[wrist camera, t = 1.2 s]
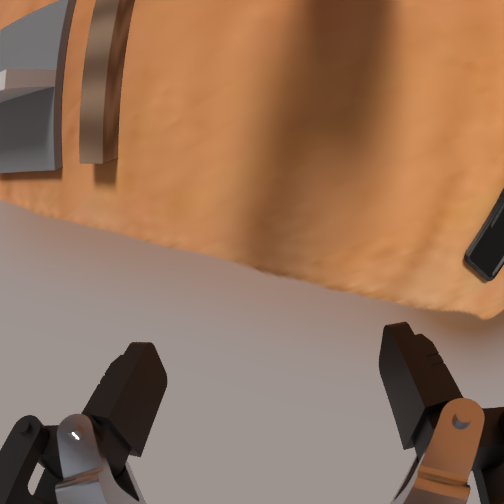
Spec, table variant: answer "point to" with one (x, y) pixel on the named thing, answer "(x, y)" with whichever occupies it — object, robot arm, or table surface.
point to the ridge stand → (33, 88)
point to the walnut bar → (103, 81)
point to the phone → (489, 244)
